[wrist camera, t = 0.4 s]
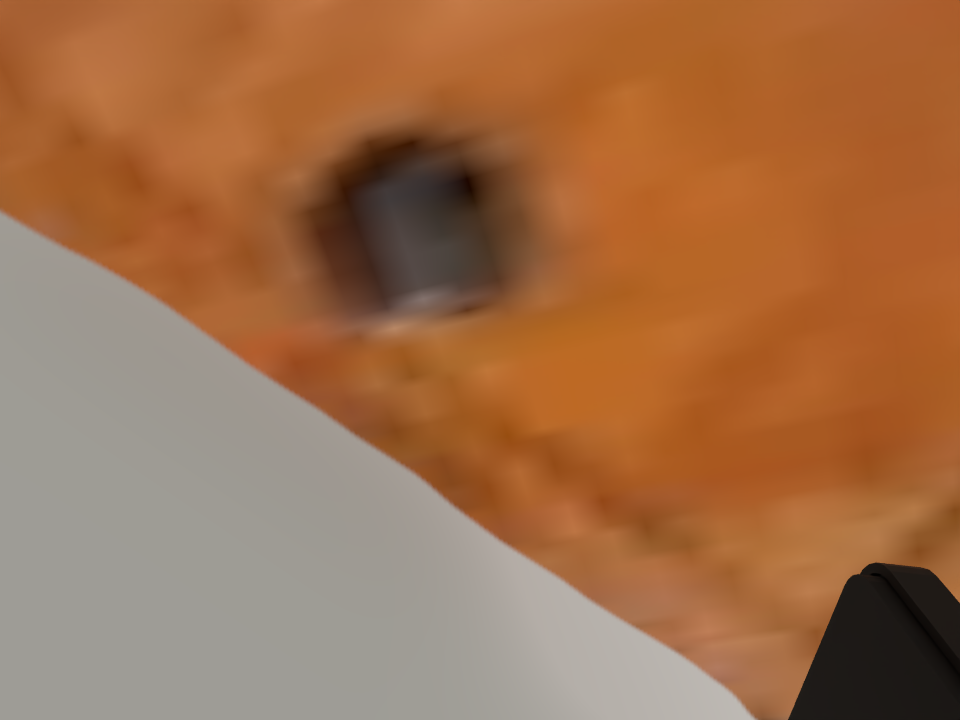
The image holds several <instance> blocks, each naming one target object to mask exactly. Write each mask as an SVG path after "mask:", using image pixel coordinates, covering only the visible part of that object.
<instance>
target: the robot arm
mask: <svg viewBox="0 0 960 720" xmlns="http://www.w3.org/2000/svg"><path fill="white" fill-rule="evenodd" d="M788 720H960V603H959V602H958V601H957V599H956V598H955V597H954V596H953V595H952V594H951V592H950V591H949V590H948V589H947V588H946V587H945V585H944V584H943V583H942V582H941V581H940V580H939V578H938V577H937V576H936V575H935V574H934V573H932V572H931V571H930V570H928V569H925V568H921V567H912V566H903V565H894V564H885V563H872V564H869V565H868V566H866V567H865V568H864V569H863V570H862V572H861V573H860V574H857V575H853V576H852V577H850V578H849V579H848V581H847V582H846V584H845V586H844V588H843V591H842V593H841V595H840V598H839V600H838V603H837V605H836V607H835V610H834V612H833V614H832V617H831V619H830V622H829V624H828V626H827V629H826V631H825V633H824V636H823V638H822V641H821V643H820V645H819V648H818V650H817V653H816V655H815V657H814V660H813V662H812V664H811V667H810V669H809V672H808V674H807V676H806V679H805V681H804V683H803V686H802V688H801V691H800V693H799V695H798V698H797V700H796V702H795V705H794V707H793V710H792V712H791V714H790V717H789V719H788Z"/></svg>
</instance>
